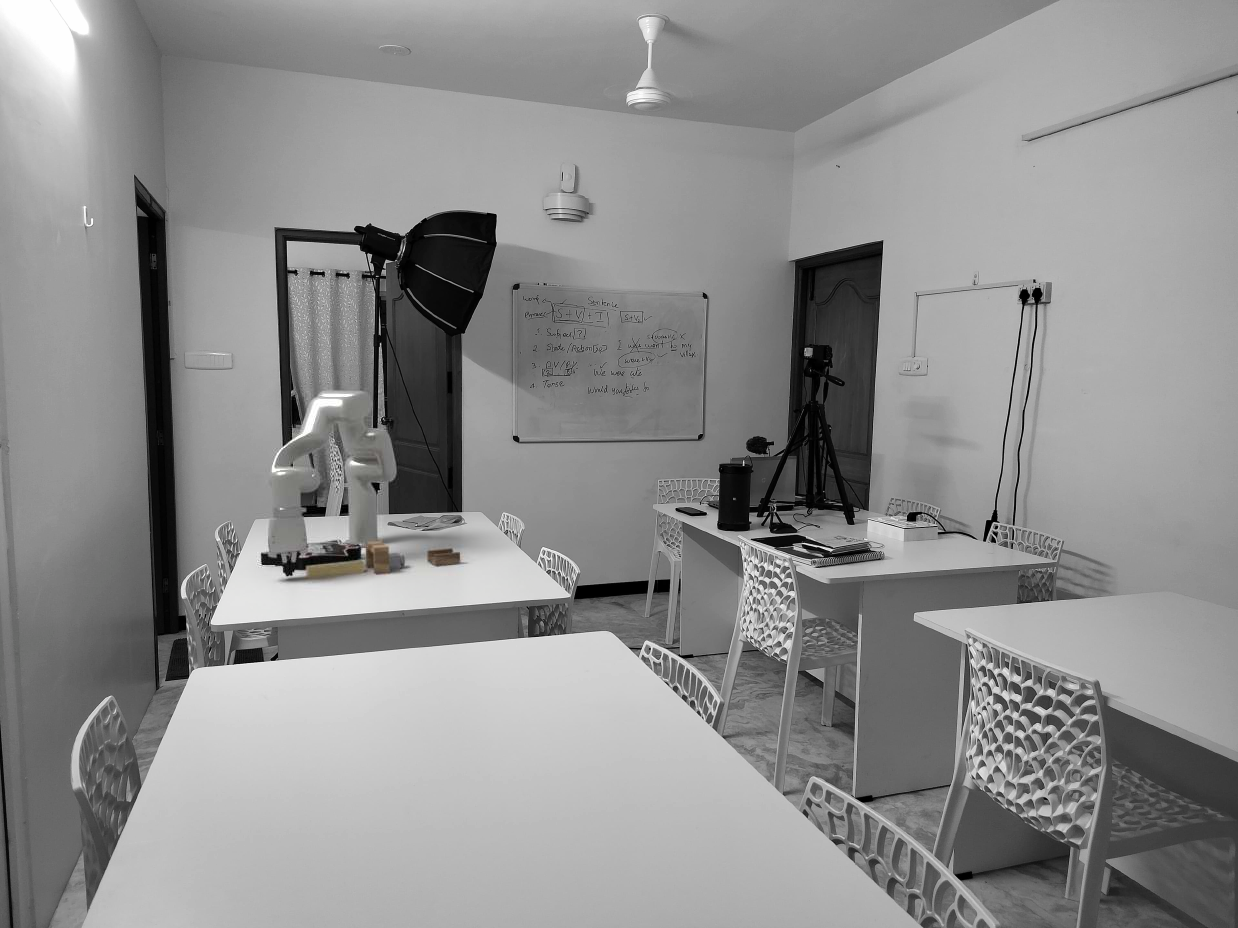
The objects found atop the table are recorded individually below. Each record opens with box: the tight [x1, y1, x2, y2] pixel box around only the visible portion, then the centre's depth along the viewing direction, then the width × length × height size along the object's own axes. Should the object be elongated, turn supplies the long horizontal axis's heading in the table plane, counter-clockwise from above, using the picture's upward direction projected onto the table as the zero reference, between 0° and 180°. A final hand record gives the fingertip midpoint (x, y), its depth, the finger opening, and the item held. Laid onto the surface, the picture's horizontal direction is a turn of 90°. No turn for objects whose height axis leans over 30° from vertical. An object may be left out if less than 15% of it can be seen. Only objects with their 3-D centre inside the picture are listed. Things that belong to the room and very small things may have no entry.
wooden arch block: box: [365, 540, 390, 575], centre depth 249 cm, size 12×4×8 cm, turn 31°
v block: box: [426, 547, 461, 567], centre depth 260 cm, size 8×8×4 cm
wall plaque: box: [260, 539, 362, 571], centre depth 260 cm, size 28×4×30 cm
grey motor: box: [373, 552, 406, 571], centre depth 251 cm, size 9×4×4 cm, turn 121°
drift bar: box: [305, 559, 365, 580], centre depth 243 cm, size 16×3×4 cm, turn 121°
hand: (288, 575), depth 236 cm, fingers closed
